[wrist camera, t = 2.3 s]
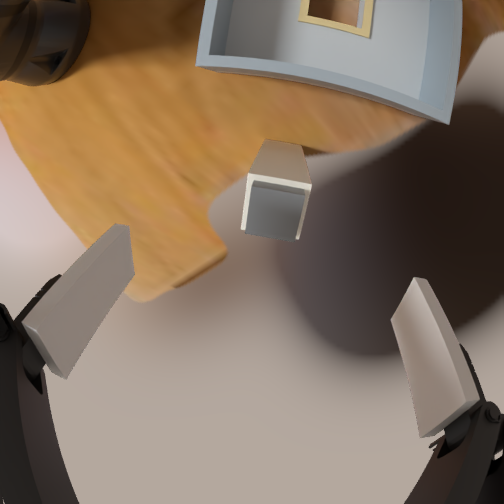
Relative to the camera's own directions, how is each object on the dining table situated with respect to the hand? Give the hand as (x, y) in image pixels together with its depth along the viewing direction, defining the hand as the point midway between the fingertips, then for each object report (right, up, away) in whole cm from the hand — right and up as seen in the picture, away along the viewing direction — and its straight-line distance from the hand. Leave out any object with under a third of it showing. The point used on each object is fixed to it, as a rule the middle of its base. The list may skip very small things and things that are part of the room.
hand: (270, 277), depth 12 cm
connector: (+2, +11, +18) cm, 21 cm away
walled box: (+8, +27, +7) cm, 29 cm away
